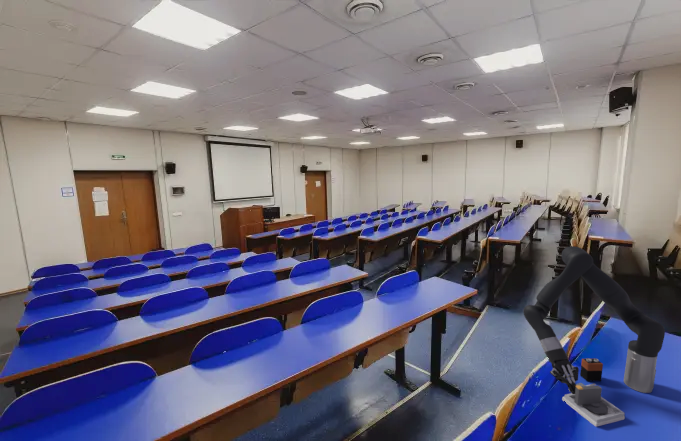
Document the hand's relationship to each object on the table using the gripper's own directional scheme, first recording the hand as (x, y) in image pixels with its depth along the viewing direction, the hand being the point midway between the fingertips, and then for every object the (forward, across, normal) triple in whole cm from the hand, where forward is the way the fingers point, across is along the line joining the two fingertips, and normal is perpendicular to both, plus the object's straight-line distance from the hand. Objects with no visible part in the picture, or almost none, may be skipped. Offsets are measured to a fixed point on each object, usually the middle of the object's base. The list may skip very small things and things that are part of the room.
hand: (576, 393), depth 123 cm
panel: (+6, +6, +3) cm, 9 cm away
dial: (+5, +5, +2) cm, 7 cm away
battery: (-4, +23, +14) cm, 27 cm away
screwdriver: (-1, +13, +10) cm, 17 cm away
